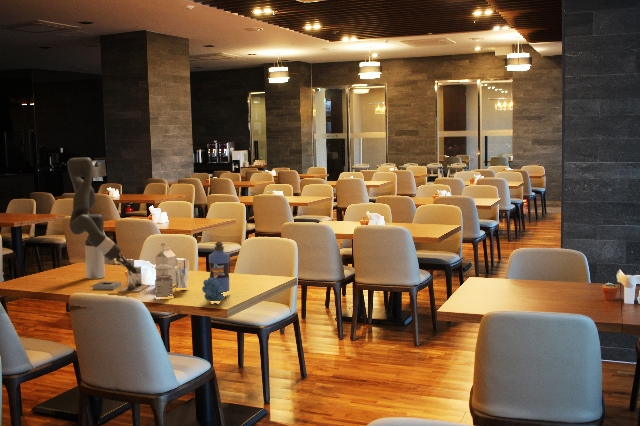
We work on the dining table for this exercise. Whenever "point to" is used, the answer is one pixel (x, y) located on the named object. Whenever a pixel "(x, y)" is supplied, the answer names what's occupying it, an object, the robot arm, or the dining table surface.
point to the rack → (136, 290)
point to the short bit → (138, 276)
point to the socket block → (106, 285)
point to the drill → (130, 276)
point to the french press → (166, 285)
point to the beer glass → (181, 272)
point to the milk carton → (169, 260)
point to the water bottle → (220, 266)
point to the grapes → (212, 290)
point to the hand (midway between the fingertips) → (133, 270)
